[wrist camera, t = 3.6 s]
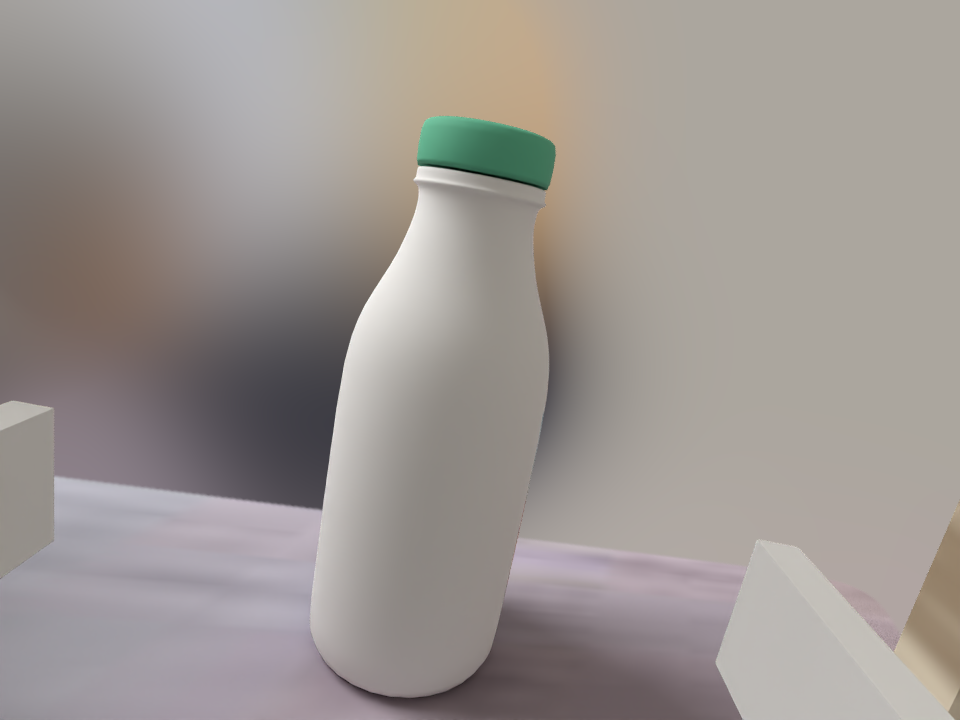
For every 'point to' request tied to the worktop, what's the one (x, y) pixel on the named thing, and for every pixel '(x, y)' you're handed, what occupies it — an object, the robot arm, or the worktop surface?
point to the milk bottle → (438, 422)
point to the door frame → (937, 625)
